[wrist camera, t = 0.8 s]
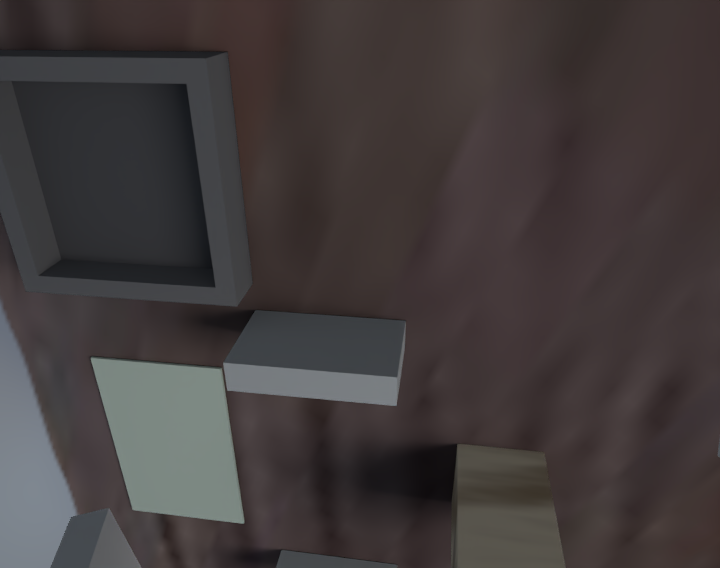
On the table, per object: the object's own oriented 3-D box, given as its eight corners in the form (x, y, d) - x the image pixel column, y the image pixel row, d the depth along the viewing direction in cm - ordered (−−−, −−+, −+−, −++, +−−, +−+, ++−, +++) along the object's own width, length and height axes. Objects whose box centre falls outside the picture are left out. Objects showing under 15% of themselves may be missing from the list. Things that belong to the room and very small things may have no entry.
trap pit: (-9, 49, 32) (-50, 55, 30) (227, 51, 30) (206, 58, 28) (54, 270, 39) (25, 291, 36) (252, 283, 37) (237, 306, 34)
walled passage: (255, 309, 38) (223, 362, 33) (405, 320, 37) (397, 377, 31) (283, 564, 50) (262, 633, 45) (396, 579, 49) (389, 652, 44)
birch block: (457, 443, 41) (457, 586, 31) (543, 452, 40) (571, 601, 30) (451, 502, 44) (450, 649, 34) (532, 511, 43) (554, 665, 33)
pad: (91, 356, 42) (90, 357, 42) (221, 367, 41) (220, 369, 40) (133, 508, 49) (132, 509, 49) (244, 521, 48) (243, 523, 48)
